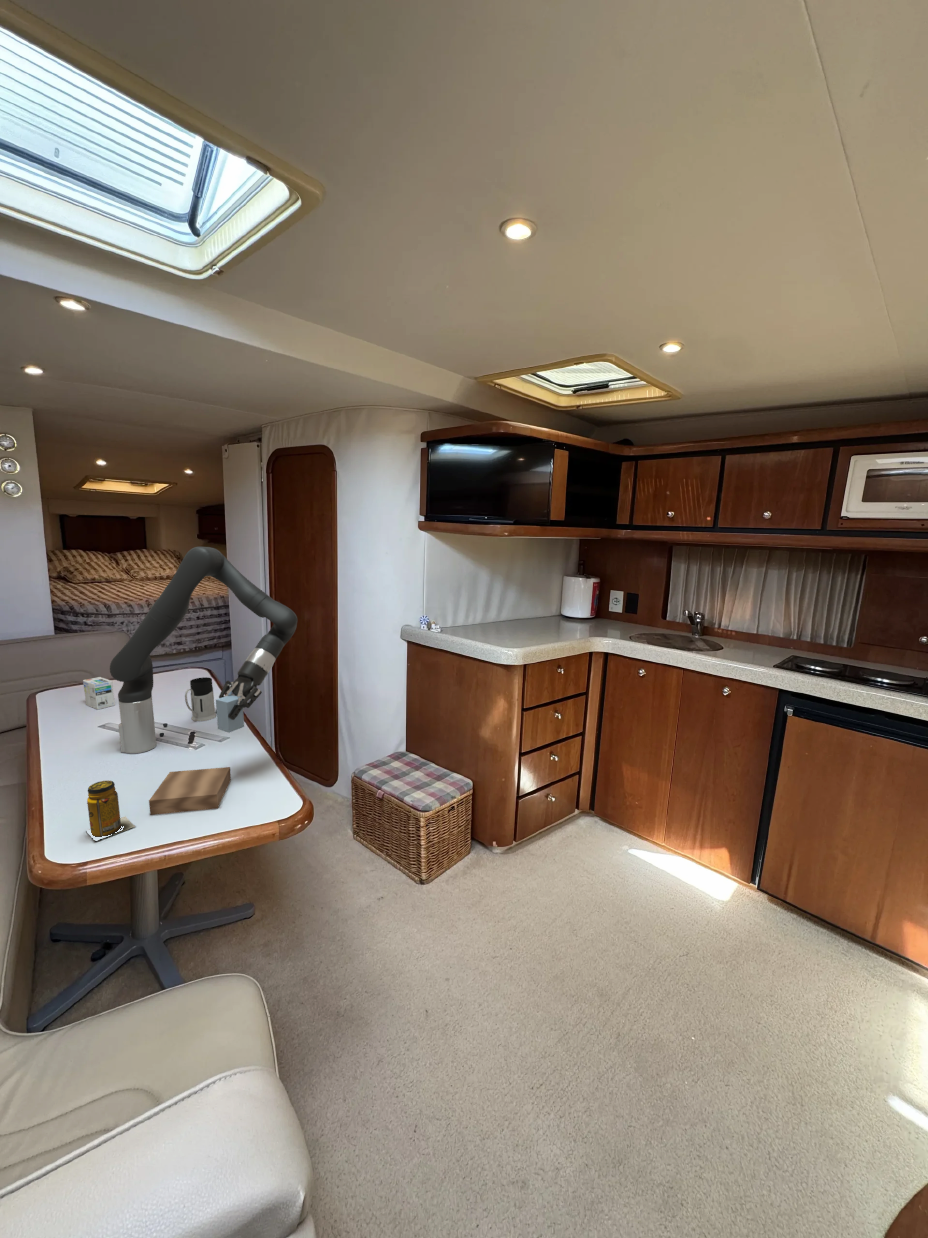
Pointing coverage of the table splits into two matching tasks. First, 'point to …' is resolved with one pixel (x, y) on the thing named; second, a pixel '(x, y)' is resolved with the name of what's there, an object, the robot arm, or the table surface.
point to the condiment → (105, 810)
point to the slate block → (223, 710)
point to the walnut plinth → (190, 791)
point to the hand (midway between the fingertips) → (224, 716)
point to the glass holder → (201, 699)
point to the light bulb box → (99, 692)
